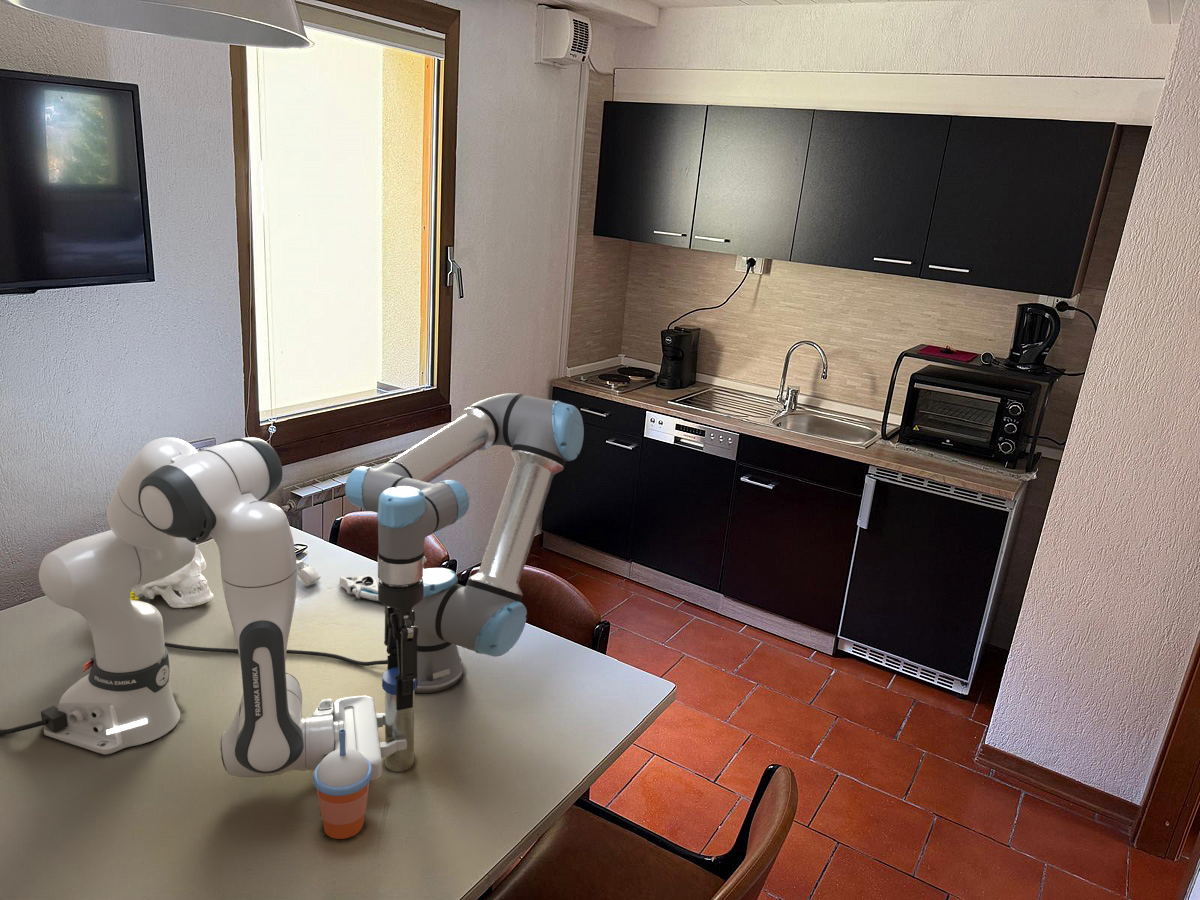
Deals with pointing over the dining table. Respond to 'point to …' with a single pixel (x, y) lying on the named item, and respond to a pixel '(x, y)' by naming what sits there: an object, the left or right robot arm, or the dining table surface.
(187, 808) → the dining table surface
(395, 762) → the silver metal cylinder
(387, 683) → the lid
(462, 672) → the right robot arm
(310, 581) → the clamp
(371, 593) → the toy gun
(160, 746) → the dining table surface
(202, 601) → the skull
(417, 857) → the dining table surface
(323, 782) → the cup with straw
